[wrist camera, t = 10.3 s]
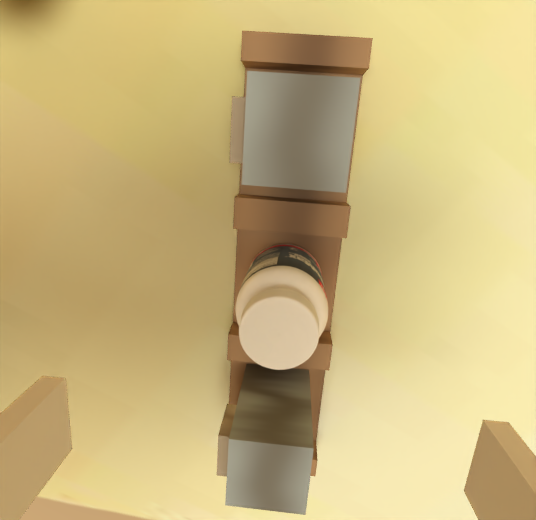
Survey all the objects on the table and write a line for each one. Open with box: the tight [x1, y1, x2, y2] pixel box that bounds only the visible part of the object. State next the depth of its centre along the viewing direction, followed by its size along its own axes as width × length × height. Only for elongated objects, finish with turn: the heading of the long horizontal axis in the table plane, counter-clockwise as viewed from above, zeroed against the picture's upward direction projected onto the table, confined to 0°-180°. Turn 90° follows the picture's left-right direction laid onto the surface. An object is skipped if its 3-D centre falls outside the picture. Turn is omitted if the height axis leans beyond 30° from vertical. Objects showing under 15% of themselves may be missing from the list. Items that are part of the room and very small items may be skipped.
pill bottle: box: [235, 244, 328, 370], centre depth 23 cm, size 5×5×9 cm
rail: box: [217, 31, 373, 515], centre depth 24 cm, size 7×30×9 cm, turn 176°
